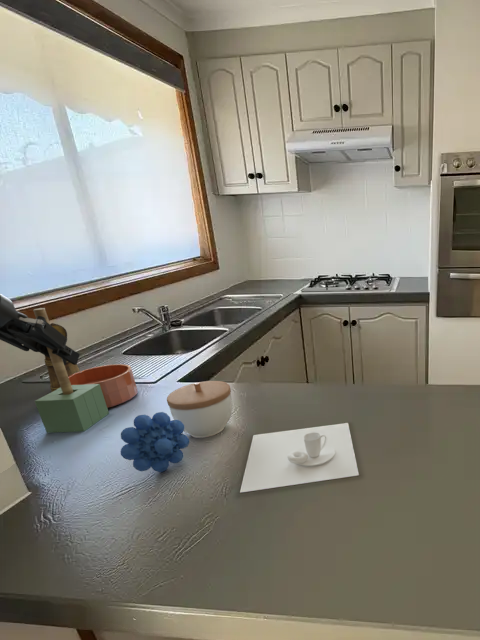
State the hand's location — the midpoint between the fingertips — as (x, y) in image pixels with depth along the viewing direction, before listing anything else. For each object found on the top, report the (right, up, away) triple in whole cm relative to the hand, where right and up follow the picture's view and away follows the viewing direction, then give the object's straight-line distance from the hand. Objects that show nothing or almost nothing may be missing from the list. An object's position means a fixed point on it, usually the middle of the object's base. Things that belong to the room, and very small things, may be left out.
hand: (71, 359), depth 99 cm
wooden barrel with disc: (-19, -7, +26) cm, 33 cm away
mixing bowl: (-1, -10, +14) cm, 17 cm away
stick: (0, -12, 0) cm, 12 cm away
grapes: (+33, -21, -21) cm, 45 cm away
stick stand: (+1, -15, +1) cm, 15 cm away
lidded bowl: (+34, -16, -6) cm, 39 cm away
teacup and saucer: (+57, -19, -18) cm, 63 cm away
